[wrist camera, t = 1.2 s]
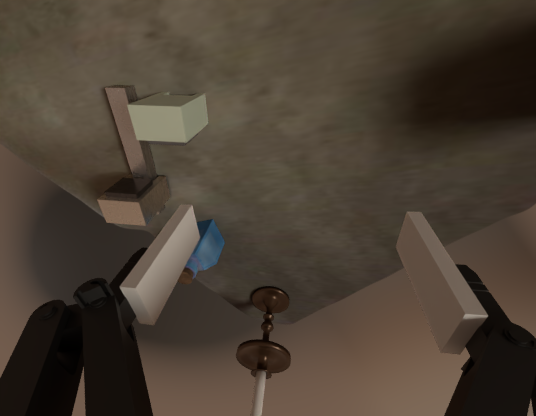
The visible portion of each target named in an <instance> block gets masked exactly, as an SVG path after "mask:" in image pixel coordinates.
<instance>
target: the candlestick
mask: <svg viewBox="0 0 536 416" xmlns="http://www.w3.org/2000/svg"><path fill="white" fill-rule="evenodd" d="M252 302H253V304H254V306H255V307H256V308H258V309H259V310H261V311H264V312H266V314H264V315H263V318H264V320H265V321H264V322H263V323H262V325H261V329H262V330H263V331H264V333H263V339H262V340H249V341H246V342H243V343H242V344H240V345H239V347H238V349H237V353H236V358H237V360H238V361H239V363H240V364H242V365H243V366H244V367H246V368H248V369H250V370H252V371H251V374H252V375H253V376H254V377H256V379H255V386H254V393H253V400H252V408H251V414H250V416H261V415H262V406H263V397H264V388H265V380H266V379H268V378H271V376H272V375H271V373H279V372H282V371H284V370H286V369H287V368H288V367H289V366H290V361H291V356H290V353H289V352H288V350H287V349H286V348H284V347H283V346H281V345H279V344H277V343H274V342H271V341H269V333H270V332H271V331H272V330H273V324H272V323H271V321H272V320H273V319H274V316H273V315H272V313H280V312H282V311H284V310H286V309H287V308H288V306H289V297H288V295H287V293H286V292H284V291H283V290H281V289H279V288H276V287H271V286H265V287H261V288H258V289H257V290H256V291H255V292H254V293H253V297H252Z"/></svg>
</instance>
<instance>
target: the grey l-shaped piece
mask: <svg viewBox="0 0 536 416" xmlns="http://www.w3.org/2000/svg"><path fill="white" fill-rule="evenodd" d="M105 90H106V93H107V96H108V99H109V102H110V106H111V109H112V112H113V115H114V118H115V121H116V125H117V128H118V131H119V134H120V137H121V140H122V144H123V147H124V150H125V153H126V156H127V160H128V163H129V166H130V169H131V172H132V174H129V175H128V176H127V177H126V178H122V179H121V180H120V181H118V182H117V183H116V184H114V185H113V186H112V187H110V188H109V189H108V190H106V191H105V192H104V193H105V194H104V195H102V196H101V197H100V198H98V199H97V201H98V203H99V205H100V208H101V210H102V212H103V215H104V217H105V219H106V222H107V223H119V224H131V225H143V226H146V225H147V224H148V223H149V222H150V221H151V219H152V218H153V217H154V216H155V215H156V214H160V213H161V212H162V211H163V209H164V208H165V203H166V202H167V201H168V199H169V198H170V193H169V189H168V185H167V180H166V176H159V177H157V173H156V169H155V165H154V161H153V157H152V153H151V150H150V146H149V144H148V141H145V140H137V139H136V135H135V131H134V128H133V124H132V121H131V117H130V114H129V110H128V106H127V105H128V104H130V103H133V102H136V101H138V99H137V95H136V91H135V87H134V86H131V85H114V86H110V87H105Z"/></svg>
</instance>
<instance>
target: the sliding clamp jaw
mask: <svg viewBox="0 0 536 416" xmlns="http://www.w3.org/2000/svg"><path fill="white" fill-rule="evenodd" d="M127 106H128V110H129V114H130V117H131V121H132V124H133V128H134V131H135V135H136V139H137V140H145V141H148V144H163V145H182V146H185V145H186V144H187V143H188V142H189V141H191V140H192V139H193V138H194V137H195V136H196V135H197V134H198V132H199V131H200V130H202V129H203V128H204V127H205V126H206V125H207V124H208V116H207V108H206V99H205V94H204V93H197V94H195V95H193V96H186V95H169V92H160V93H158V94H155V95H152V96H149V97H147V98H144V99H141V100H139V101H136V102H133V103H130V104H128V105H127Z"/></svg>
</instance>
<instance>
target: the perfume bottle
mask: <svg viewBox="0 0 536 416" xmlns="http://www.w3.org/2000/svg"><path fill="white" fill-rule="evenodd" d="M197 227H198V231H199V235H200V239H199V241H198V242H197V244H196V246H195V248H194V250H193V252H192V254H191V256H190V258H189V260H188V261H187V263H186V265H185V267H184V269H183V271H182V273H181V275H180V277H179V279H178V280H177V281H178V282H179V283H182V284H190V283H191V282H192V279H193V278H194V277H195V276H196V273H197V271H201V270H206V269H208V268H209V267H211V266H213V265H215V264H217V261H218V258H219V256H220V253H221V251H222V248H223V246H224V243H225V242H224V240H223V238H222V236H221V234H220V232H219V230H218V228H217V226H216V224H215V222H214V220H213V219H212V220H207V221H202V222H197Z"/></svg>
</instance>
